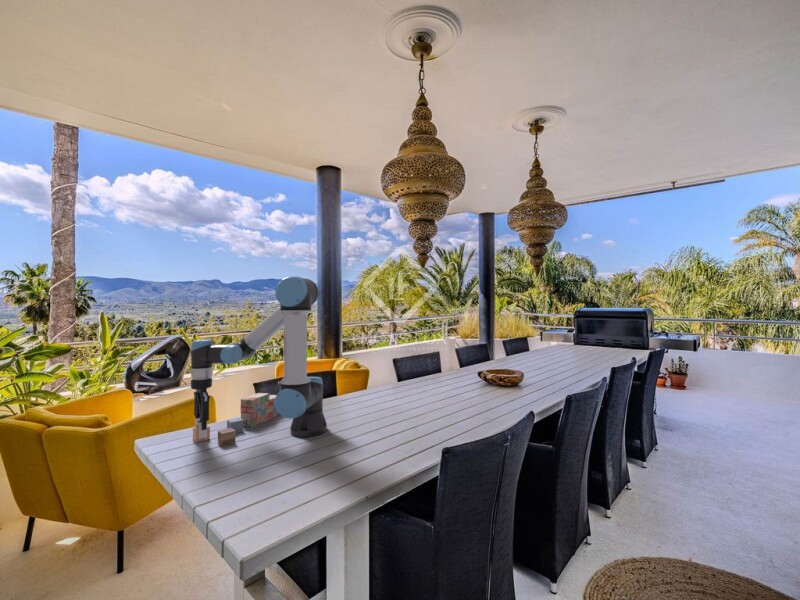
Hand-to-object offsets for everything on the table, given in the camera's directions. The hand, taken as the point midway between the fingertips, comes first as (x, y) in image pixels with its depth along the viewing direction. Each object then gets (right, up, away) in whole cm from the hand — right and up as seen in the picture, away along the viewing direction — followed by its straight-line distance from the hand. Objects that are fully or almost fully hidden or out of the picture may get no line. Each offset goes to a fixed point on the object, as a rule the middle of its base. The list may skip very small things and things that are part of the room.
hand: (201, 435), depth 145 cm
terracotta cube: (0, -1, 0) cm, 1 cm away
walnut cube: (+13, -1, -5) cm, 14 cm away
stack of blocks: (+15, -2, +26) cm, 30 cm away
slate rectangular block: (+10, -2, +9) cm, 13 cm away
